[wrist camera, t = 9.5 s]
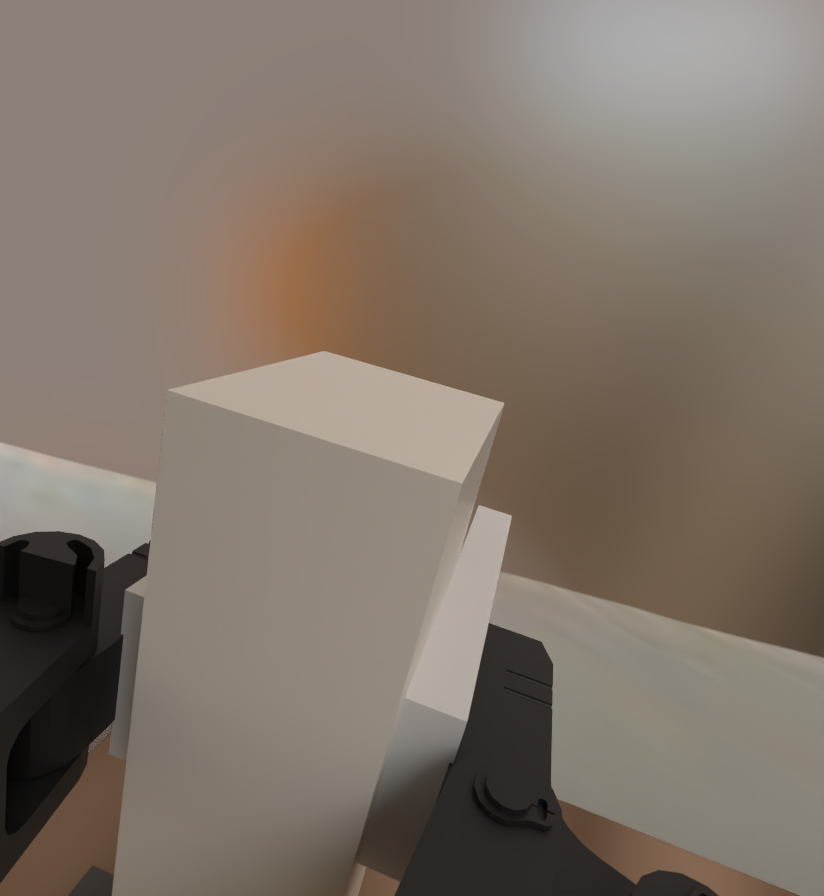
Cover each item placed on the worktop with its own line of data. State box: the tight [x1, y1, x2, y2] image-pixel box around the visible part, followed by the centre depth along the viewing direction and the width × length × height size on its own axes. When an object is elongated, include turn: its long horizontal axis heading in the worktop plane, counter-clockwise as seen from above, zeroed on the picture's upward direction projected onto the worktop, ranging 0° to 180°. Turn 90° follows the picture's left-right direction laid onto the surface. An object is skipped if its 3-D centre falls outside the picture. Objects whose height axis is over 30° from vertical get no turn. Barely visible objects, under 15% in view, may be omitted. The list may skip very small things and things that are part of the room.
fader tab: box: [112, 351, 504, 896], centre depth 9 cm, size 3×4×11 cm
